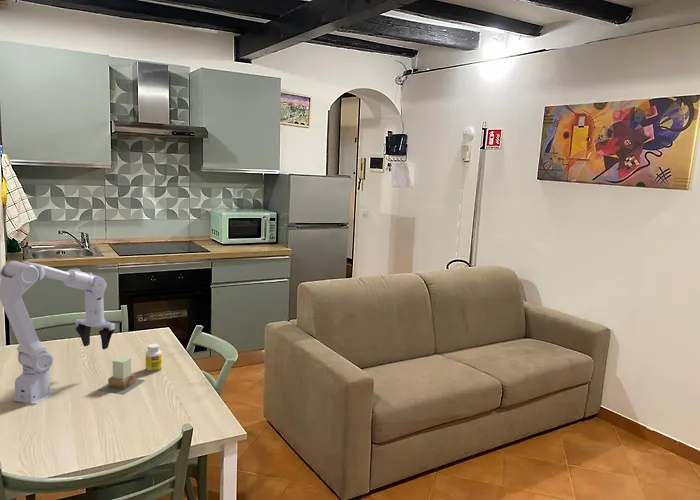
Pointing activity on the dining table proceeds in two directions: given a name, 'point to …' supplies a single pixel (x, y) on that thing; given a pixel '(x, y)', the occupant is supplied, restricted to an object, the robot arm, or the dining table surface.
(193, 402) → the dining table surface
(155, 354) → the supplement bottle
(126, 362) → the sage pillar
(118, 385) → the walnut block
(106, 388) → the mat
